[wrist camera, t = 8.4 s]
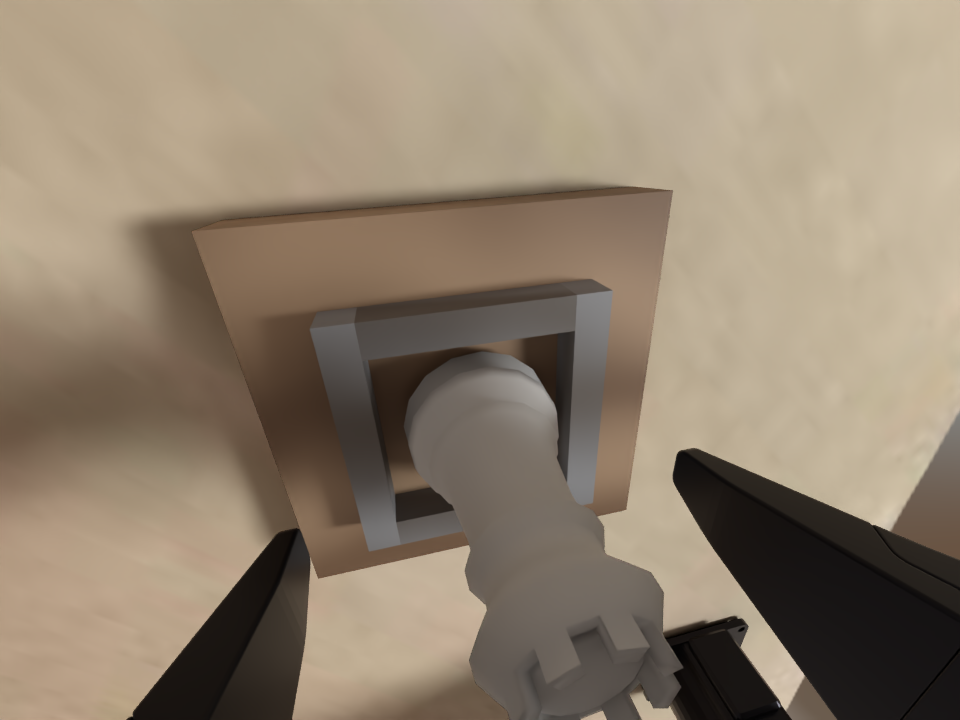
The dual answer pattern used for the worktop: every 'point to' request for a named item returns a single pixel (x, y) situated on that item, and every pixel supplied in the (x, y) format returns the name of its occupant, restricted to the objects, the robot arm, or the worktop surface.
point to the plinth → (435, 344)
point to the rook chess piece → (535, 551)
